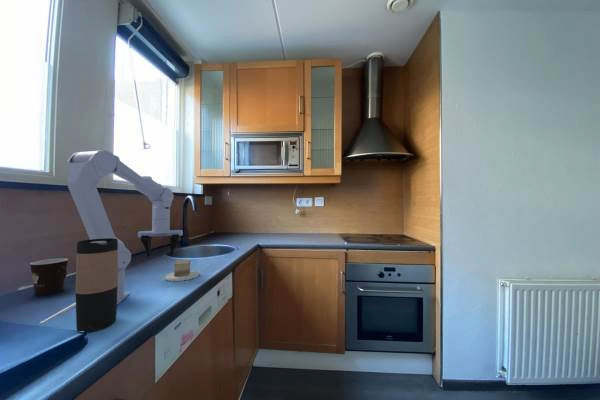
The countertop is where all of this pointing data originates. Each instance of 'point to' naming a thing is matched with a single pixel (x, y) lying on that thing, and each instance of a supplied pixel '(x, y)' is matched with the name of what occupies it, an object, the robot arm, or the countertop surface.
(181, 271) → the beech cube
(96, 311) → the travel mug
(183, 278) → the saucer
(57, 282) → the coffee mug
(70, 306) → the fork
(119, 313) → the countertop surface
